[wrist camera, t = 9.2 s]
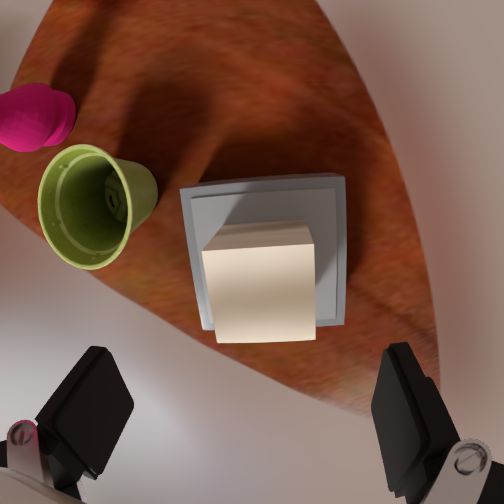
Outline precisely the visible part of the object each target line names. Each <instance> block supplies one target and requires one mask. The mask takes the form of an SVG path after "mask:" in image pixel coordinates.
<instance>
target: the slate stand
mask: <svg viewBox="0 0 504 504" xmlns="http://www.w3.org/2000/svg"><path fill="white" fill-rule="evenodd" d="M180 194H181V202H182V209H183V216H184V223H185V230H186V237H187V243H188V250H189V256H190V262H191V268H192V274H193V280H194V285H195V291H196V296H197V302H198V307H199V312H200V318H201V323H202V328H203V330H215V327H214V322H213V317H212V311H211V305H210V300H209V294H208V288H207V282H206V276H205V270H204V264H203V258H202V250H203V249H204V247H205V246H206V245H207V244H208V243H209V241H210V240H211V239H212V238H213V236H214V235H215V234H216V233H217V232H218V230H219V229H220V228H221V227H222V226H223V225H235V224H248V223H261V222H275V221H290V220H306V223H307V225H308V228H309V231H310V234H311V237H312V240H313V243H314V260H315V327H318V326H332V325H344V315H345V295H346V258H347V225H346V188H345V176H342V175H339V174H336V173H333V172H332V173H308V174H290V175H275V176H261V177H249V178H238V179H228V180H218V181H209V182H200V183H196V184H193V185H190V186H187V187H184V188H182V189H180Z"/></svg>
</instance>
